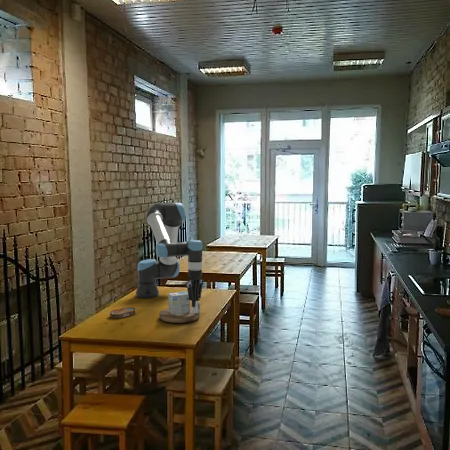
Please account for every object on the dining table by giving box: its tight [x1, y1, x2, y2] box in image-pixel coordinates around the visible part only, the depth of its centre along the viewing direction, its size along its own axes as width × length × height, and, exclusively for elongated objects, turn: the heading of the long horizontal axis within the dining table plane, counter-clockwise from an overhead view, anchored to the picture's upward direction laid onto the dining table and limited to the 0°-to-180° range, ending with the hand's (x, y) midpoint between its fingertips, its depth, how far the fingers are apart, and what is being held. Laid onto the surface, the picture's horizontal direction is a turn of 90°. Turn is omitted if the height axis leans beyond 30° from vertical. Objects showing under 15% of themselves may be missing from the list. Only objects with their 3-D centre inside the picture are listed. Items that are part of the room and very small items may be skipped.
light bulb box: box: [168, 290, 191, 315], centre depth 249 cm, size 11×7×11 cm, turn 116°
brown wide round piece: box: [158, 301, 201, 324], centre depth 249 cm, size 22×22×8 cm
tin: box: [109, 306, 136, 320], centre depth 255 cm, size 15×3×8 cm
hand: (194, 312), depth 245 cm, fingers closed
